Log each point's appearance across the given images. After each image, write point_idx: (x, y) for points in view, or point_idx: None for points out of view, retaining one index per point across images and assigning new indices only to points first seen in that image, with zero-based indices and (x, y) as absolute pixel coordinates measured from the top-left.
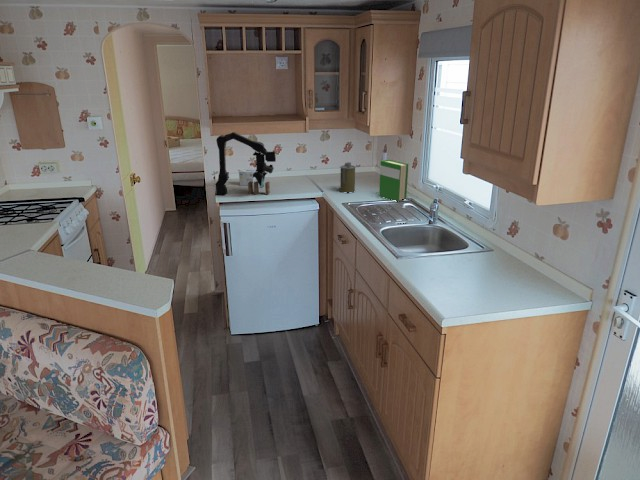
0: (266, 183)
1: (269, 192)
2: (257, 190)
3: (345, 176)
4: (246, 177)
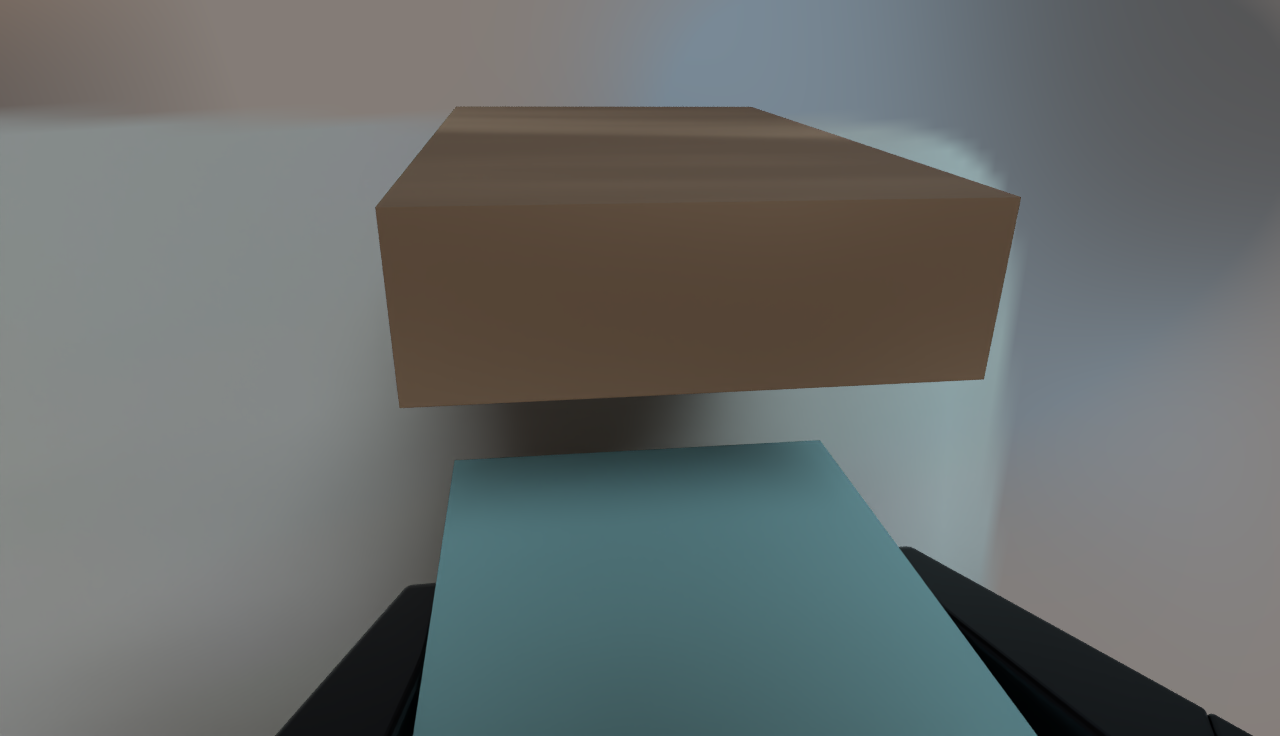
0: (994, 277)
1: (514, 110)
2: None
3: None
4: None
